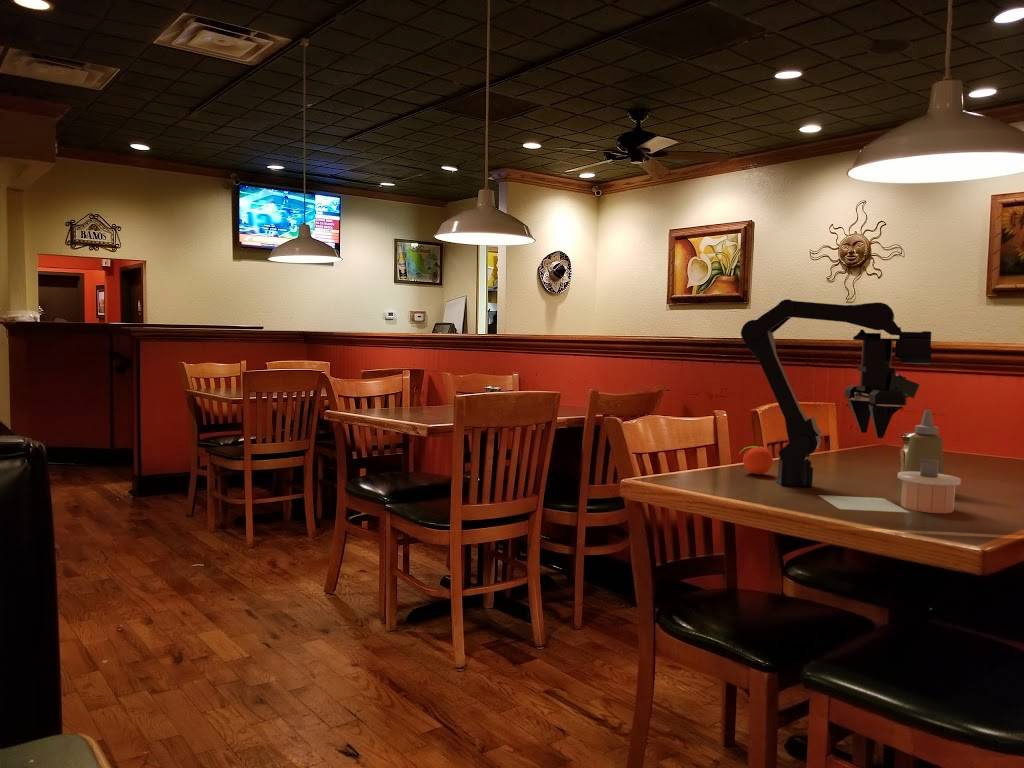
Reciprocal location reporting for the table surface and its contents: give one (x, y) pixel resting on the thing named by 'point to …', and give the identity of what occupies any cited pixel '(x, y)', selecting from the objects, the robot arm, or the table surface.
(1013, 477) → the table surface
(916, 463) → the squeeze bottle
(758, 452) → the clementine
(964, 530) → the table surface
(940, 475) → the lid
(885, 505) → the mat
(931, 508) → the bowl
